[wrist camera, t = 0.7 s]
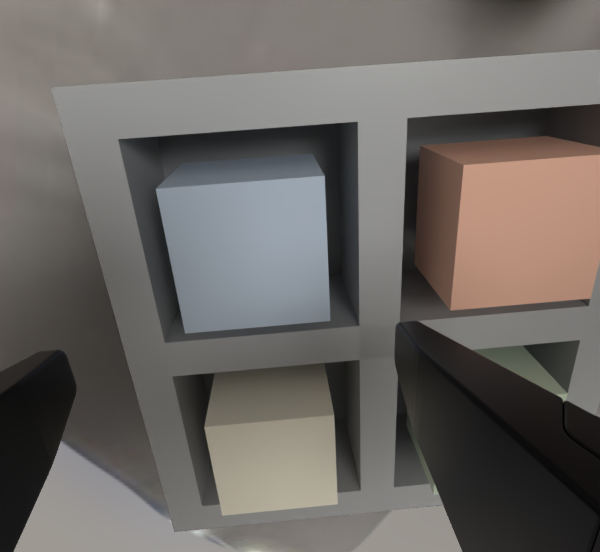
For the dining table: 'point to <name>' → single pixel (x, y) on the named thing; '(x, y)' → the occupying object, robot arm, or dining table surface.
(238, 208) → the key slate
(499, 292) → the key terracotta
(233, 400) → the key cream
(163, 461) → the keypad
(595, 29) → the dining table surface
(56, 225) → the dining table surface
